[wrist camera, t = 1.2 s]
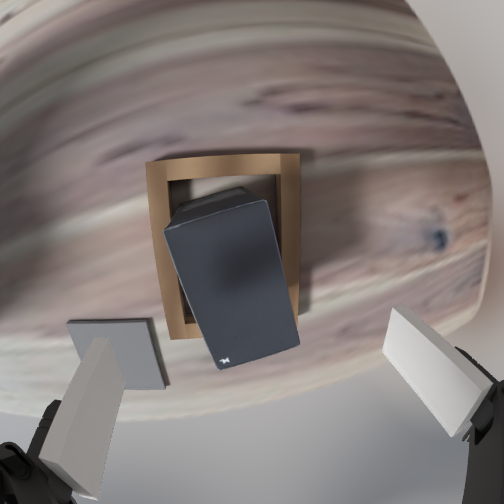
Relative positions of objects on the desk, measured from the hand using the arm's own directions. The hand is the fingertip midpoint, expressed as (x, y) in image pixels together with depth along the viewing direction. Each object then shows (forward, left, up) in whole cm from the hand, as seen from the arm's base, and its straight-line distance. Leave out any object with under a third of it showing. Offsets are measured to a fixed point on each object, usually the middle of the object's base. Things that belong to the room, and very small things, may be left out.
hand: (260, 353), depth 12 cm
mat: (-14, -12, -16) cm, 24 cm away
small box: (0, 0, -16) cm, 16 cm away
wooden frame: (0, 0, -16) cm, 16 cm away
